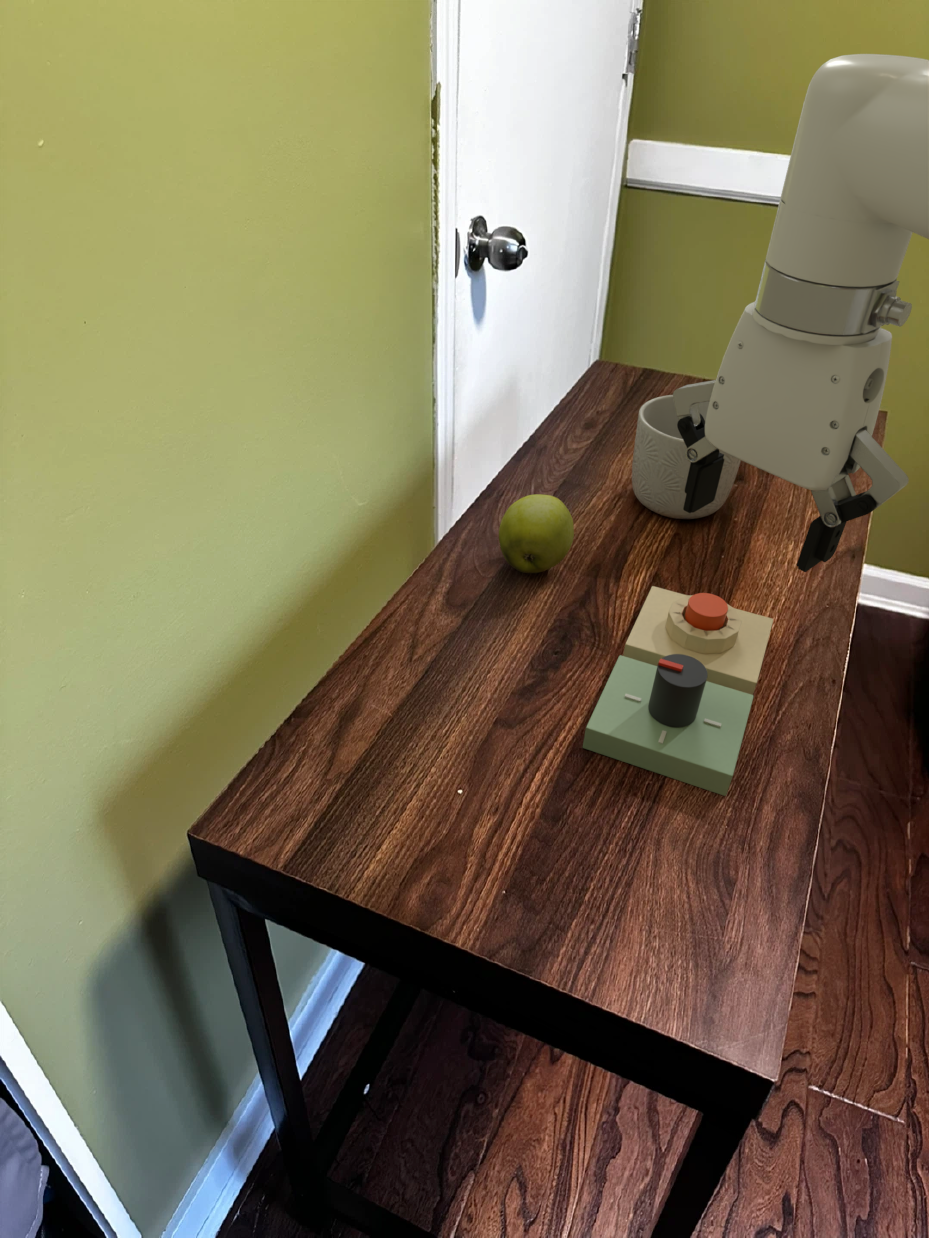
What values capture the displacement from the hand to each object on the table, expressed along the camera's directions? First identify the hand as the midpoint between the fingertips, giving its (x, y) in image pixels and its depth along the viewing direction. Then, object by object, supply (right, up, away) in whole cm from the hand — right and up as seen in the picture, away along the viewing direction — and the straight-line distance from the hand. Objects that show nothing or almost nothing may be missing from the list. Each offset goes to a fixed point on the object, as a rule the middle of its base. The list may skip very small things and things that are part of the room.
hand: (752, 533), depth 63 cm
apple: (-14, -1, +29) cm, 32 cm away
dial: (-4, -14, +9) cm, 17 cm away
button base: (+1, -9, +19) cm, 21 cm away
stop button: (+1, -6, +17) cm, 18 cm away
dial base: (-4, -16, +11) cm, 20 cm away
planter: (+4, +8, +40) cm, 41 cm away
